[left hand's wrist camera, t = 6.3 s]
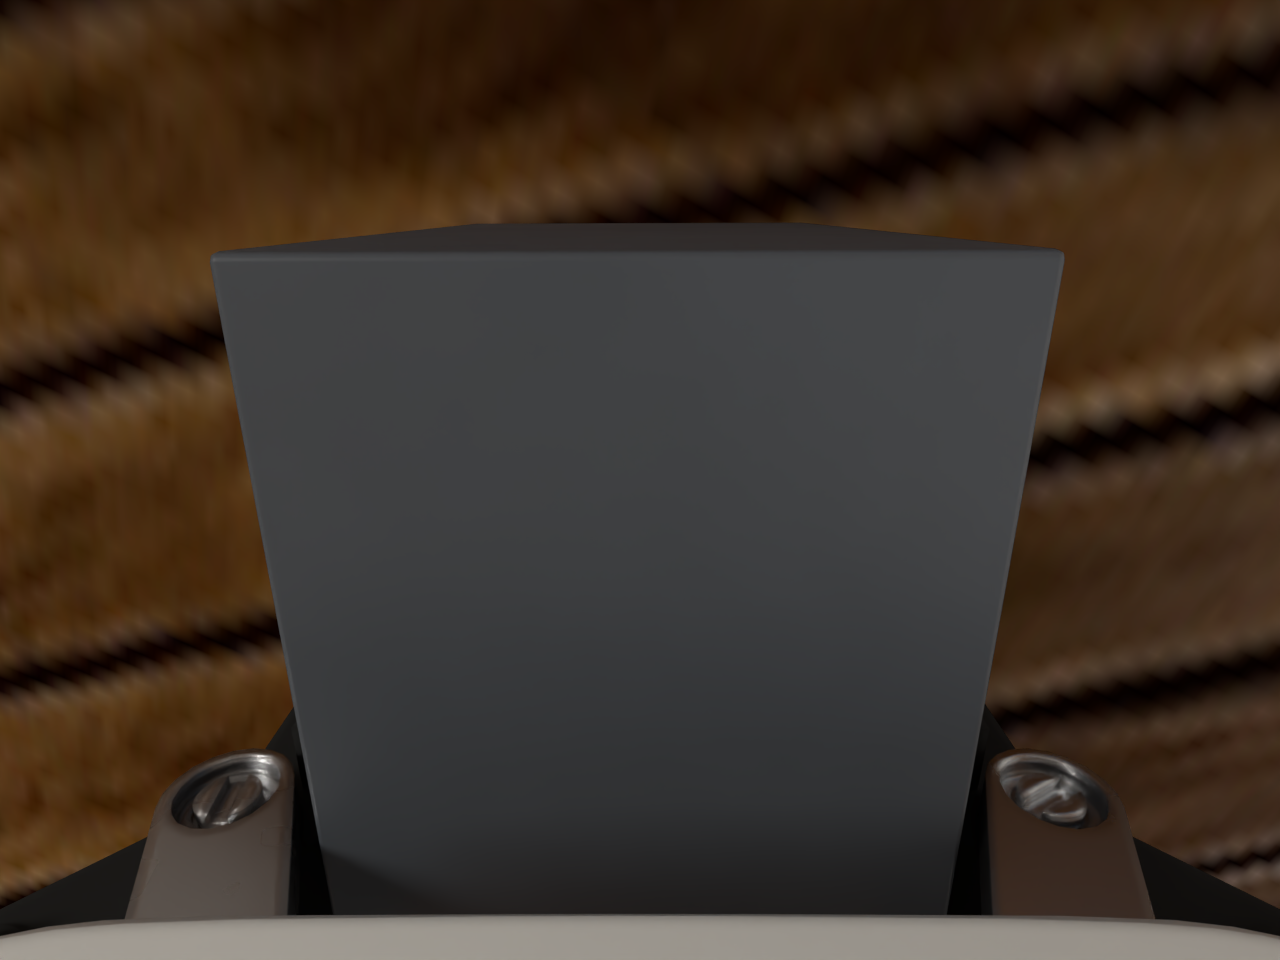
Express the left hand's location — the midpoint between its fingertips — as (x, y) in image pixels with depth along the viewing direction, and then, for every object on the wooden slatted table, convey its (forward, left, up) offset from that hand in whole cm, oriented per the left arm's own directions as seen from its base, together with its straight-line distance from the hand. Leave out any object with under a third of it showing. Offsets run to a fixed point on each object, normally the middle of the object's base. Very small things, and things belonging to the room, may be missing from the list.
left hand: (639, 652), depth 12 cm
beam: (+33, 0, -4) cm, 33 cm away
